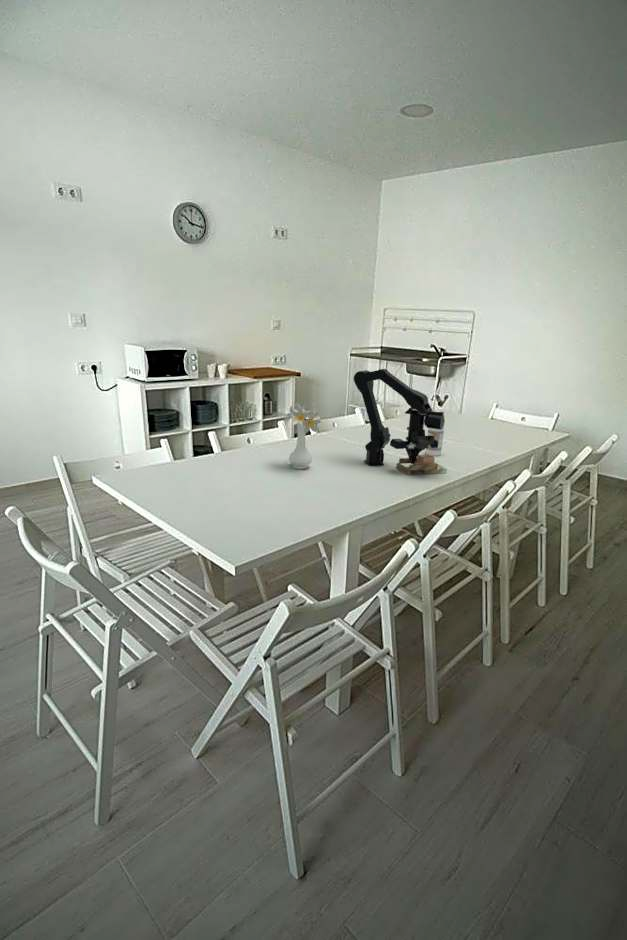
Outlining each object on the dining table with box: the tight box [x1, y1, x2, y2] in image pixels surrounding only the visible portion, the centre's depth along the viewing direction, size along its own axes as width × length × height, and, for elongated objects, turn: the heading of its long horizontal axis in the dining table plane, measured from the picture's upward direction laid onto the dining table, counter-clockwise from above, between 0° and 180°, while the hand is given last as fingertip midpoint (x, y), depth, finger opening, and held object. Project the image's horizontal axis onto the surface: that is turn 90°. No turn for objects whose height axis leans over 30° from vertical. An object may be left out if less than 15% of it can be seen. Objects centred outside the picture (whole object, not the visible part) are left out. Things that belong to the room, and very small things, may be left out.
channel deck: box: [396, 457, 448, 476], centre depth 197 cm, size 18×10×4 cm, turn 107°
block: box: [417, 453, 436, 464], centre depth 197 cm, size 5×5×4 cm
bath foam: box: [425, 410, 445, 457], centre depth 220 cm, size 7×7×20 cm
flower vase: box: [284, 402, 322, 470], centre depth 190 cm, size 13×18×25 cm
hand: (412, 463), depth 196 cm, fingers closed
